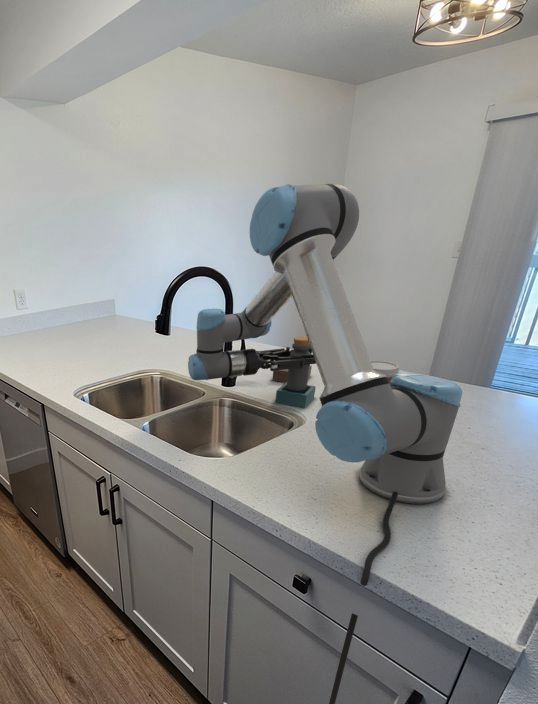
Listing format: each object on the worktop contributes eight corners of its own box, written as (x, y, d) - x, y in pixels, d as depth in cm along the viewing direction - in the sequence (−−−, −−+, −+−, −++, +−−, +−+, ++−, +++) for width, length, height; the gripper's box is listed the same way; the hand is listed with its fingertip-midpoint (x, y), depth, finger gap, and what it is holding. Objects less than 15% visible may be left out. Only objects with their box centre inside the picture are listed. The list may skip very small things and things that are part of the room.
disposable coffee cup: (395, 411, 123) (405, 370, 118) (359, 410, 125) (367, 370, 120) (385, 398, 131) (394, 360, 126) (351, 398, 133) (358, 360, 128)
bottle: (309, 390, 129) (316, 340, 123) (289, 391, 130) (295, 341, 123) (302, 383, 135) (309, 335, 128) (283, 384, 135) (289, 336, 128)
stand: (301, 385, 146) (302, 373, 144) (272, 380, 151) (273, 369, 149) (310, 376, 153) (311, 365, 151) (282, 372, 158) (283, 361, 156)
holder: (304, 408, 129) (306, 395, 127) (275, 402, 134) (276, 390, 132) (313, 398, 135) (315, 386, 133) (285, 393, 140) (286, 381, 138)
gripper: (229, 366, 136) (299, 359, 138) (253, 385, 119) (332, 376, 122) (231, 342, 133) (302, 335, 135) (255, 358, 116) (336, 350, 118)
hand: (316, 355), depth 128 cm, fingers closed on bottle, 6 cm apart
